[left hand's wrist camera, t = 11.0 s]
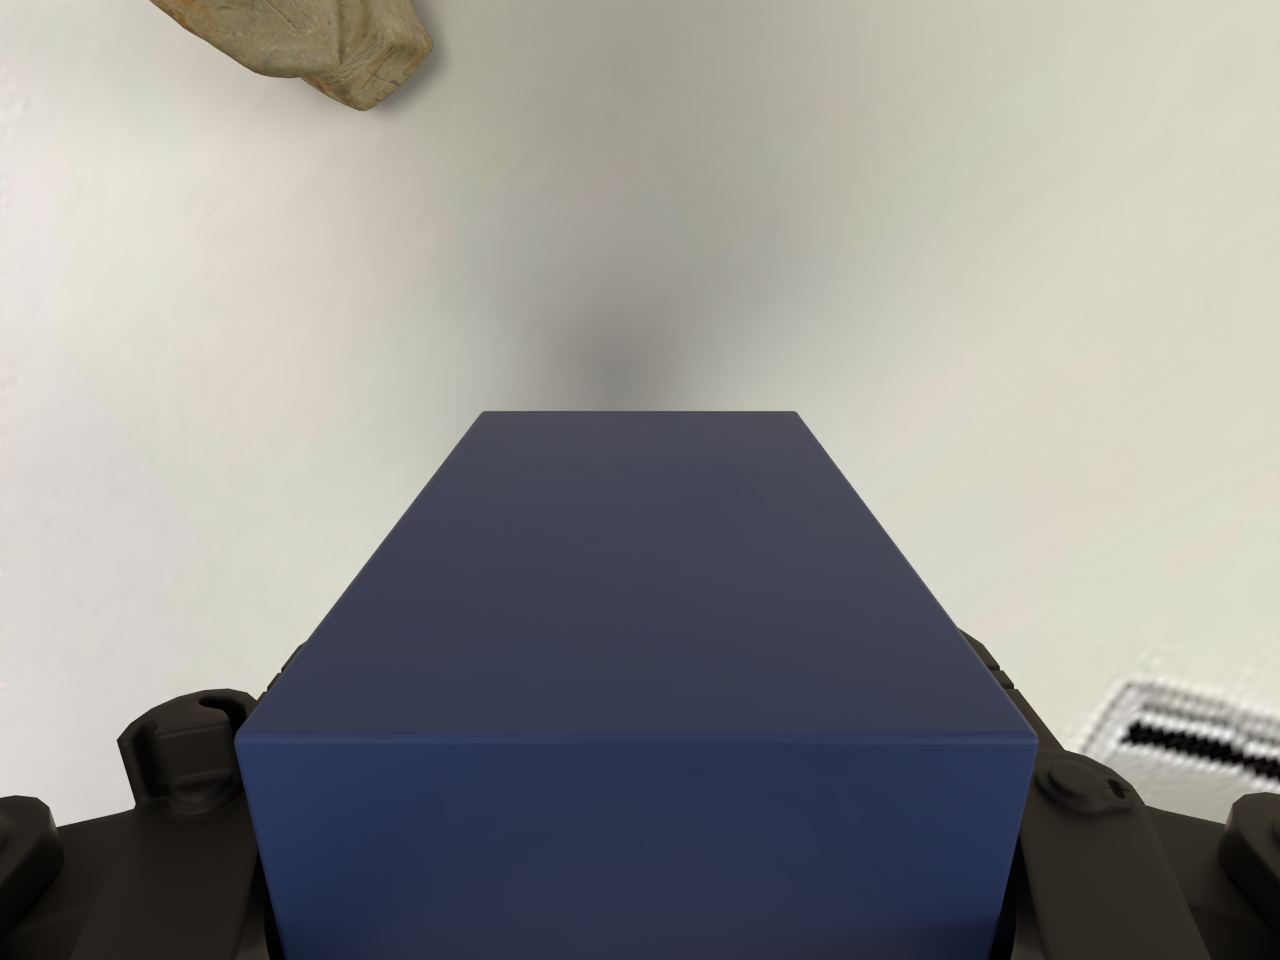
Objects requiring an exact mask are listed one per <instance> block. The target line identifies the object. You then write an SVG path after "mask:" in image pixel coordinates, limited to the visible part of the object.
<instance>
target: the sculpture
mask: <svg viewBox="0 0 1280 960" xmlns="http://www.w3.org/2000/svg"><path fill="white" fill-rule="evenodd" d="M150 1H151V2H152V3H153V4H154V5H156V6H157V7H158V8H160V9H161V10H162V11H164V12H165V13H166V14H168V15H169V16H170V17H171V18H173V19H174V20H175V21H176V22H177V23H178V24H180V25H181V26H182V27H183V28H185V29H186V30H188V31H189V32H191V33H193V34H194V35H196V36H198V37H200V38H202V39H203V40H205V41H207V42H208V43H210V44H211V45H213V46H214V47H215V48H217V49H218V50H220V51H222V52H223V53H225V54H226V55H228V56H230V57H231V58H232V59H234V60H235V61H237V62H238V63H240V64H241V65H243V66H245V67H246V68H248V69H250V70H251V71H253V72H255V73H258V74H261V75H265V76H270V77H280V78H297V77H301V78H302V79H303V80H304V81H306V82H307V83H308V84H310V85H311V86H313V87H314V88H316V89H317V90H319V91H321V92H322V93H324V94H325V95H327V96H329V97H331V98H332V99H334V100H336V101H338V102H340V103H342V104H344V105H347V106H349V107H351V108H354V109H357V110H359V111H367V110H369V109H371V108H372V107H374V106H376V105H377V104H379V103H380V102H381V101H383V100H384V99H385V98H386V97H388V96H389V95H390V94H391V93H392V92H394V91H395V90H396V89H397V88H398V87H399V86H400V85H402V84H403V83H404V82H405V81H406V80H407V79H408V78H409V77H410V76H411V75H412V74H413V73H414V72H415V71H416V69H417V68H418V67H419V66H420V64H421V63H422V62H423V60H424V59H425V57H426V56H427V55H428V54H429V53H430V52H431V51H432V49H433V42H432V40H431V38H430V36H429V35H428V33H427V31H426V29H425V28H424V26H423V25H422V24H421V22H420V20H419V19H418V17H417V14H416V11H415V9H414V7H413V5H412V2H411V0H150Z"/></svg>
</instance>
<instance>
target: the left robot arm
mask: <svg viewBox="0 0 1280 960" xmlns="http://www.w3.org/2000/svg"><path fill="white" fill-rule="evenodd" d="M957 628H958V627H957ZM958 629H959V628H958ZM959 630H960V632H961V633H962V634H963V636H964V637H965V638H966V640H967V641H968V642H969V644H970V645H971V646H972V648H973V649H974V650H975V652H976V653H977V654H978V656H979V657H980V658H981V660H982V661H983V662H984V664H985V665H986V666H987V668H988V669H989V670H990V672H991V673H992V674H993V676H994V677H995V678H996V680H997V681H998V682H999V684H1000V685H1001V686H1002V688H1003V689H1004V690H1005V692H1006V693H1007V694H1008V696H1009V697H1010V698H1011V700H1012V701H1013V702H1014V704H1015V705H1016V706H1017V708H1018V709H1019V710H1020V712H1021V713H1022V714H1023V716H1024V717H1025V718H1026V720H1027V721H1028V722H1029V724H1030V725H1031V726H1032V728H1033V729H1034V731H1035V732H1036V733H1037V736H1038V740H1039V746H1038V750H1037V755H1036V759H1035V763H1034V768H1033V772H1032V776H1031V781H1030V785H1029V789H1028V794H1027V798H1026V802H1025V807H1024V811H1023V816H1022V820H1021V824H1020V829H1019V833H1018V837H1017V842H1016V846H1015V850H1014V855H1013V859H1012V863H1011V868H1010V872H1009V876H1008V881H1007V885H1006V890H1005V894H1004V898H1003V903H1002V907H1001V911H1000V916H999V920H998V924H997V929H996V933H995V937H994V942H993V946H992V951H991V955H990V959H989V960H1280V794H1274V793H1268V792H1263V793H1254V794H1245V795H1244V796H1242V797H1241V798H1240V799H1238V800H1237V801H1236V802H1234V803H1233V805H1232V808H1231V810H1230V813H1229V816H1228V819H1227V822H1226V824H1222V823H1217V822H1213V821H1208V820H1204V819H1199V818H1195V817H1191V816H1186V815H1182V814H1177V813H1173V812H1168V811H1164V810H1160V809H1157V808H1153V807H1150V806H1146V805H1145V804H1144V802H1143V801H1142V799H1141V798H1140V796H1139V795H1138V793H1137V792H1136V791H1135V789H1134V788H1133V786H1132V785H1131V784H1130V783H1128V782H1127V781H1126V780H1125V779H1123V778H1122V777H1121V776H1120V775H1118V774H1117V773H1116V772H1115V771H1113V770H1112V769H1111V768H1109V767H1107V766H1105V765H1103V764H1101V763H1099V762H1097V761H1095V760H1093V759H1091V758H1089V757H1087V756H1084V755H1080V754H1077V753H1073V752H1070V751H1067V750H1064V748H1063V747H1062V746H1061V745H1060V743H1059V742H1058V741H1057V739H1056V738H1055V737H1054V736H1053V734H1052V733H1051V732H1050V730H1049V729H1048V728H1047V727H1046V725H1045V724H1044V723H1043V721H1042V720H1041V719H1040V718H1039V716H1038V715H1037V714H1036V712H1035V711H1034V710H1033V708H1032V707H1031V706H1030V705H1029V703H1028V702H1027V701H1026V699H1025V698H1024V697H1023V696H1022V694H1021V693H1020V692H1019V690H1018V689H1014V684H1013V683H1012V681H1011V680H1010V679H1009V678H1008V676H1007V675H1006V674H1005V672H1004V671H1000V666H999V665H998V663H997V662H996V661H995V659H994V658H993V657H992V656H991V654H990V653H989V652H988V650H987V649H986V648H985V647H984V645H983V644H982V643H980V642H979V641H977V640H976V639H974V638H973V637H971V636H970V635H968V634H967V633H965V632H964V631H962V630H961V629H959ZM305 643H306V642H304V643H303V644H302V645H300V646H299V647H298V648H297V649H296V650H295V652H294V653H293V654H292V655H291V657H290V658H289V659H288V661H287V662H286V663H285V665H284V666H283V667H282V668H281V673H278V674H277V675H276V676H275V678H274V679H273V680H272V681H271V683H270V684H269V685H268V687H267V692H268V691H269V690H270V688H271V687H272V686H273V684H274V683H275V682H276V680H277V679H278V678H279V676H280V675H281V674H282V673H283V671H284V670H285V669H286V667H287V666H288V665H289V663H290V662H291V661H292V660H293V658H294V657H295V656H296V654H297V653H298V652H299V650H300V649H301V648H302V646H303V645H304V644H305ZM267 692H263V693H262V694H261V696H260V697H259V698H258V700H255V699H254V698H253V697H252V696H251V695H249V694H248V693H247V692H242V691H237V690H233V689H214V690H203V691H199V692H195V693H191V694H187V695H183V696H179V697H176V698H174V699H172V700H170V701H167V702H165V703H163V704H161V705H158V706H156V707H154V708H152V709H150V710H149V711H147V712H146V713H145V714H143V715H142V716H140V717H139V718H137V719H136V720H135V721H133V722H132V723H130V724H129V726H128V727H127V728H126V729H125V731H124V732H123V733H122V734H121V735H120V737H119V738H118V739H117V743H118V746H119V750H120V753H121V756H122V760H123V763H124V766H125V769H126V773H127V776H128V779H129V783H130V786H131V789H132V793H133V796H134V799H135V802H136V805H135V807H134V809H131V810H128V811H125V812H121V813H117V814H113V815H109V816H104V817H100V818H95V819H91V820H86V821H82V822H78V823H73V824H69V825H64V826H60V827H56V825H55V822H54V820H53V817H52V814H51V811H50V808H49V807H48V806H47V805H46V804H45V803H43V802H42V801H41V800H39V799H38V798H35V797H26V796H18V795H15V796H9V797H2V798H0V960H285V959H284V955H283V950H282V946H281V942H280V938H279V933H278V929H277V925H276V921H275V916H274V912H273V908H272V903H271V899H270V895H269V891H268V886H267V882H266V878H265V874H264V869H263V865H262V861H261V857H260V852H259V848H258V844H257V839H256V835H255V831H254V827H253V822H252V818H251V814H250V810H249V805H248V801H247V797H246V793H245V788H244V784H243V780H242V775H241V771H240V767H239V763H238V758H237V754H236V750H235V746H234V740H235V735H236V733H237V731H238V730H239V729H240V727H241V726H242V725H243V723H244V722H245V721H246V720H247V718H248V717H249V716H250V714H251V713H252V712H253V710H254V709H255V708H256V707H257V705H258V704H259V703H260V701H261V700H262V699H263V697H264V696H265V695H266V693H267Z"/></svg>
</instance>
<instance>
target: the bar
mask: <svg viewBox="0 0 1280 960" xmlns="http://www.w3.org/2000/svg"><path fill="white" fill-rule="evenodd" d="M234 746H235V750H236V754H237V758H238V763H239V767H240V771H241V775H242V780H243V784H244V788H245V793H246V797H247V801H248V805H249V810H250V814H251V818H252V822H253V827H254V831H255V835H256V839H257V844H258V848H259V852H260V857H261V861H262V865H263V869H264V874H265V878H266V882H267V886H268V891H269V895H270V899H271V903H272V908H273V912H274V916H275V921H276V925H277V929H278V933H279V938H280V942H281V946H282V950H283V955H284V959H285V960H989V959H990V955H991V951H992V946H993V942H994V937H995V933H996V929H997V924H998V920H999V916H1000V911H1001V907H1002V903H1003V898H1004V894H1005V890H1006V885H1007V881H1008V876H1009V872H1010V868H1011V863H1012V859H1013V855H1014V850H1015V846H1016V842H1017V837H1018V833H1019V829H1020V824H1021V820H1022V816H1023V811H1024V807H1025V802H1026V798H1027V794H1028V789H1029V785H1030V781H1031V776H1032V772H1033V768H1034V763H1035V759H1036V755H1037V750H1038V746H1039V740H1038V736H1037V733H1036V732H1035V731H1034V729H1033V728H1032V726H1031V725H1030V724H1029V722H1028V721H1027V720H1026V718H1025V717H1024V716H1023V714H1022V713H1021V712H1020V710H1019V709H1018V708H1017V706H1016V705H1015V704H1014V702H1013V701H1012V700H1011V698H1010V697H1009V696H1008V694H1007V693H1006V692H1005V690H1004V689H1003V688H1002V686H1001V685H1000V684H999V682H998V681H997V680H996V678H995V677H994V676H993V674H992V673H991V672H990V670H989V669H988V668H987V666H986V665H985V664H984V662H983V661H982V660H981V658H980V657H979V656H978V654H977V653H976V652H975V650H974V649H973V648H972V646H971V645H970V644H969V642H968V641H967V640H966V638H965V637H964V636H963V634H962V633H961V632H960V630H959V629H958V628H957V626H956V625H955V624H954V622H953V621H952V620H951V618H950V617H949V615H948V614H947V613H946V611H945V610H944V609H943V607H942V606H941V605H940V603H939V602H938V601H937V599H936V598H935V597H934V595H933V594H932V593H931V591H930V590H929V589H928V587H927V586H926V585H925V583H924V582H923V581H922V579H921V578H920V577H919V575H918V574H917V573H916V571H915V570H914V569H913V567H912V566H911V565H910V563H909V562H908V561H907V559H906V558H905V557H904V555H903V554H902V553H901V551H900V550H899V549H898V547H897V546H896V545H895V543H894V542H893V541H892V539H891V538H890V537H889V535H888V534H887V533H886V531H885V530H884V529H883V527H882V526H881V525H880V523H879V522H878V521H877V519H876V518H875V517H874V515H873V514H872V513H871V511H870V510H869V509H868V507H867V506H866V504H865V503H864V502H863V500H862V499H861V498H860V496H859V495H858V494H857V492H856V491H855V490H854V488H853V487H852V486H851V484H850V483H849V482H848V480H847V479H846V478H845V476H844V475H843V474H842V472H841V471H840V470H839V468H838V467H837V466H836V464H835V463H834V462H833V460H832V459H831V458H830V456H829V455H828V454H827V452H826V451H825V450H824V448H823V447H822V446H821V444H820V443H819V442H818V440H817V439H816V438H815V436H814V435H813V434H812V432H811V431H810V430H809V428H808V427H807V426H806V424H805V423H804V422H803V420H802V419H801V418H800V416H799V415H798V414H797V412H794V411H484V412H482V413H481V414H480V415H479V417H478V418H477V419H476V421H475V422H474V423H473V424H472V426H471V427H470V428H469V430H468V431H467V432H466V434H465V435H464V436H463V438H462V439H461V440H460V441H459V443H458V444H457V445H456V447H455V448H454V449H453V451H452V452H451V453H450V454H449V456H448V457H447V458H446V460H445V461H444V462H443V464H442V465H441V466H440V468H439V469H438V470H437V471H436V473H435V474H434V475H433V477H432V478H431V479H430V481H429V482H428V483H427V485H426V486H425V487H424V488H423V490H422V491H421V492H420V494H419V495H418V496H417V498H416V499H415V500H414V501H413V503H412V504H411V505H410V507H409V508H408V509H407V511H406V512H405V513H404V515H403V516H402V517H401V518H400V520H399V521H398V522H397V524H396V525H395V526H394V528H393V529H392V530H391V532H390V533H389V534H388V535H387V537H386V538H385V539H384V541H383V542H382V543H381V545H380V546H379V547H378V549H377V550H376V551H375V552H374V554H373V555H372V556H371V558H370V559H369V560H368V562H367V563H366V564H365V565H364V567H363V568H362V569H361V571H360V572H359V573H358V575H357V576H356V577H355V579H354V580H353V581H352V582H351V584H350V585H349V586H348V588H347V589H346V590H345V592H344V593H343V594H342V596H341V597H340V598H339V599H338V601H337V602H336V603H335V605H334V606H333V607H332V609H331V610H330V611H329V612H328V614H327V615H326V616H325V618H324V619H323V620H322V622H321V623H320V624H319V626H318V627H317V628H316V629H315V631H314V632H313V633H312V635H311V636H310V637H309V639H308V640H307V641H306V643H305V644H304V645H303V646H302V648H301V649H300V650H299V652H298V653H297V654H296V656H295V657H294V658H293V660H292V661H291V662H290V663H289V665H288V666H287V667H286V669H285V670H284V671H283V673H282V674H281V675H280V676H279V678H278V679H277V680H276V682H275V683H274V684H273V686H272V687H271V688H270V690H269V691H268V692H267V693H266V695H265V696H264V697H263V699H262V700H261V701H260V703H259V704H258V705H257V707H256V708H255V709H254V710H253V712H252V713H251V714H250V716H249V717H248V718H247V720H246V721H245V722H244V723H243V725H242V726H241V727H240V729H239V730H238V731H237V733H236V735H235V740H234Z"/></svg>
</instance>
